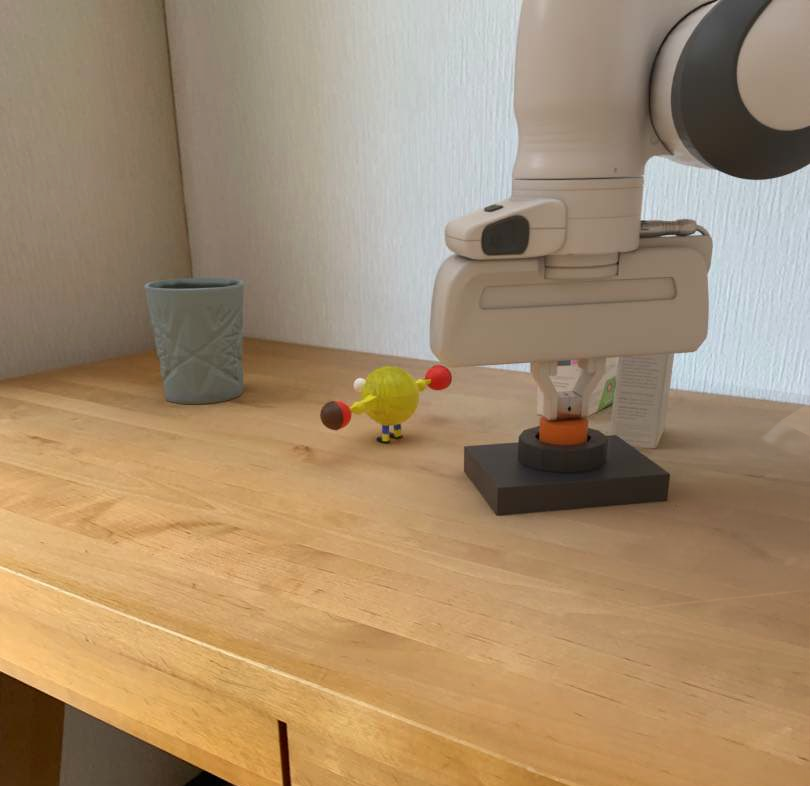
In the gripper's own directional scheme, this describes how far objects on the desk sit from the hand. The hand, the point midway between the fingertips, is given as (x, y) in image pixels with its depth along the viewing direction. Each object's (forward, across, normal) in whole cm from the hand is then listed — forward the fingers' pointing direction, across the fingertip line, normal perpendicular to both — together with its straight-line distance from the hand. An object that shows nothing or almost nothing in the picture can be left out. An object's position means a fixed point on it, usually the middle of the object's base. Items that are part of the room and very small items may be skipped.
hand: (564, 417), depth 66 cm
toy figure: (+6, +11, -15) cm, 19 cm away
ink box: (+6, -9, -21) cm, 23 cm away
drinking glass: (+6, +28, -37) cm, 47 cm away
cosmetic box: (+6, -11, -10) cm, 16 cm away
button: (+2, 0, 0) cm, 2 cm away
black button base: (+5, 0, 0) cm, 5 cm away
